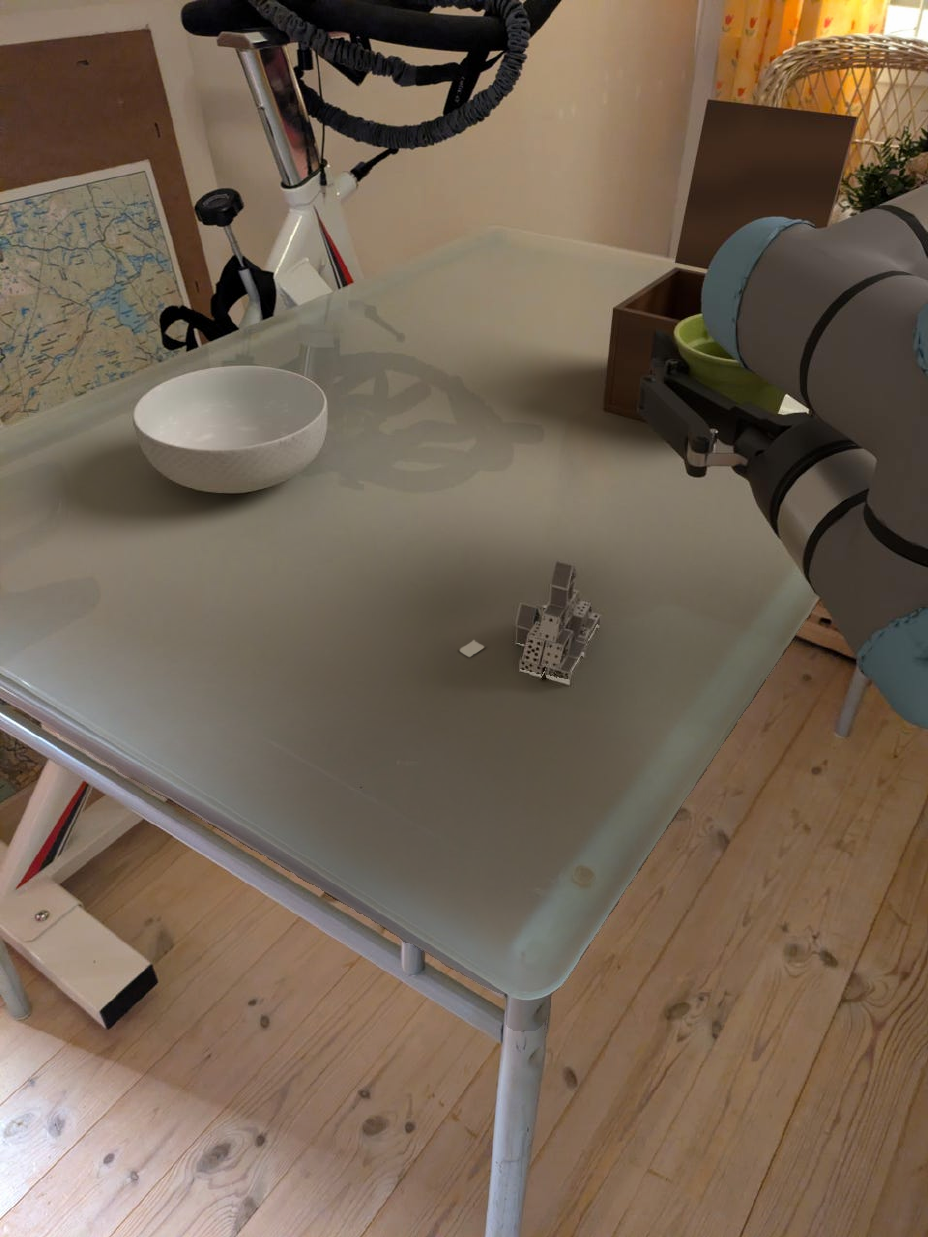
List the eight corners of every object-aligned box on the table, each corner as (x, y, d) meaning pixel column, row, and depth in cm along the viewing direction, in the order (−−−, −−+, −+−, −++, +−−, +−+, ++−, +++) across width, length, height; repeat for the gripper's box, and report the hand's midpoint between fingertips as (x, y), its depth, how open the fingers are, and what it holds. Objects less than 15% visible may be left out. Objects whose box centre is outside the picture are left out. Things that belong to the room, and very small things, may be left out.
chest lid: (856, 116, 87) (859, 116, 88) (707, 98, 94) (710, 99, 94) (809, 289, 95) (811, 289, 95) (674, 262, 101) (677, 262, 102)
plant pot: (653, 469, 69) (669, 355, 63) (663, 412, 76) (678, 304, 71) (787, 484, 67) (815, 368, 62) (785, 424, 74) (809, 315, 69)
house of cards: (502, 587, 75) (505, 503, 70) (608, 616, 72) (619, 531, 67) (454, 654, 68) (453, 567, 64) (568, 689, 66) (576, 601, 61)
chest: (735, 447, 93) (757, 341, 86) (602, 409, 99) (612, 307, 92) (786, 393, 102) (809, 293, 95) (662, 362, 109) (675, 266, 102)
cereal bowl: (172, 540, 80) (155, 465, 76) (130, 453, 92) (114, 385, 87) (360, 492, 86) (354, 421, 82) (298, 417, 98) (291, 351, 93)
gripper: (648, 568, 55) (573, 397, 73) (993, 546, 57) (838, 384, 75) (664, 454, 51) (580, 301, 68) (1040, 433, 52) (863, 289, 70)
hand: (715, 344), depth 71 cm, fingers closed on plant pot, 8 cm apart
